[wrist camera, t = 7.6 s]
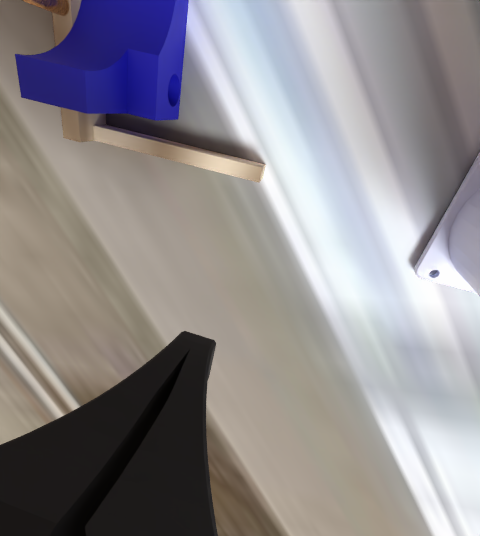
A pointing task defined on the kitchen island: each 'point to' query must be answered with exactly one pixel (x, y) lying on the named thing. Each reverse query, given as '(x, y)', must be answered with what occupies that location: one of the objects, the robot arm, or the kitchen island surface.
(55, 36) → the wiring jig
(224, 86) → the kitchen island surface
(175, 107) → the blue pipe clamp half
